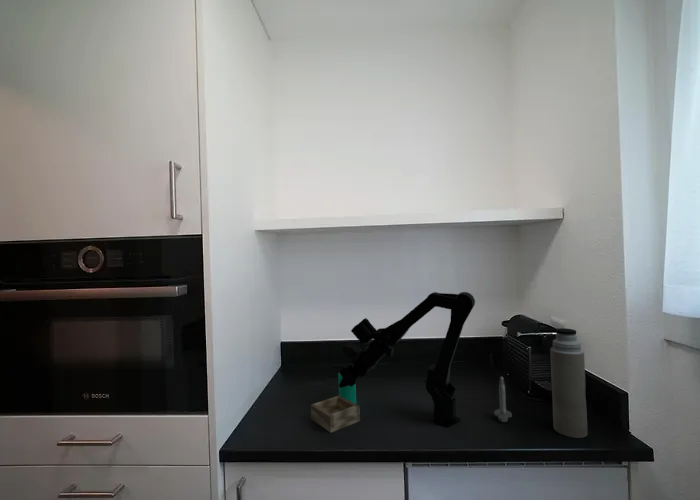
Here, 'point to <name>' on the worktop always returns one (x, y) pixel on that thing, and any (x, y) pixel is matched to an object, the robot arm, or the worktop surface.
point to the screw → (502, 404)
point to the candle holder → (335, 413)
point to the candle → (347, 391)
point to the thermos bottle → (568, 384)
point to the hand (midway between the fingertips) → (343, 383)
